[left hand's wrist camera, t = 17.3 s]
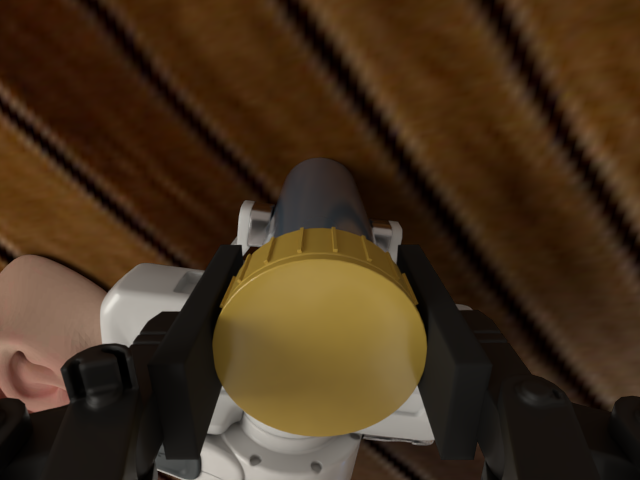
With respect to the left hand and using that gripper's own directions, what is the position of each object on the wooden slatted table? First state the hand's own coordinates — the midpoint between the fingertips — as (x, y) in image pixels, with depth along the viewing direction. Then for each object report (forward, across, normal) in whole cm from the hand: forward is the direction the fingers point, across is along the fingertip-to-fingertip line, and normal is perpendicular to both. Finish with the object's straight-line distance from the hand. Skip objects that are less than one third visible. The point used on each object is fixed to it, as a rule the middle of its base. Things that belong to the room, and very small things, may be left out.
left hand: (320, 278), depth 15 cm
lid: (-4, 0, 0) cm, 4 cm away
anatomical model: (+12, +19, +11) cm, 25 cm away
